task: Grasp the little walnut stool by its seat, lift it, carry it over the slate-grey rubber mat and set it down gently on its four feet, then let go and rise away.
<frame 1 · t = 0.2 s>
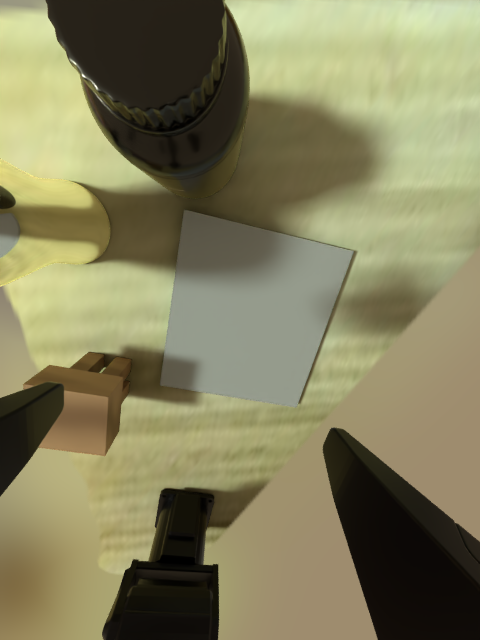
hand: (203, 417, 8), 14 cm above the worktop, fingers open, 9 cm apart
walnut stool: (109, 373, 23), on the worktop
rubber mat: (248, 321, 22), on the worktop
supplement bottle: (194, 149, 18), on the worktop
beer glass: (72, 224, 19), on the worktop
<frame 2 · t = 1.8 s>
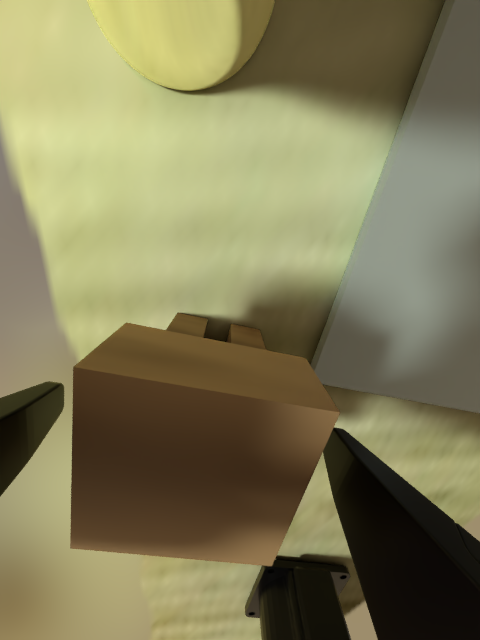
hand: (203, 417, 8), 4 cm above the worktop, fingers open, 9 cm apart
walnut stool: (211, 357, 12), on the worktop
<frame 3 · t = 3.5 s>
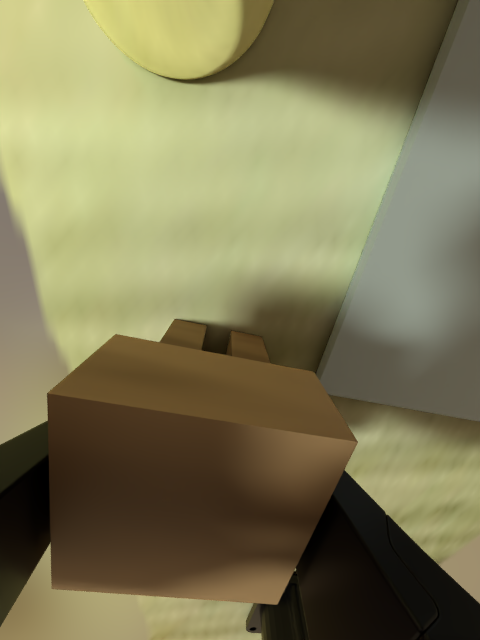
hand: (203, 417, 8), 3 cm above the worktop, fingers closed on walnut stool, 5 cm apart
walnut stool: (210, 366, 11), on the worktop, touching gripper
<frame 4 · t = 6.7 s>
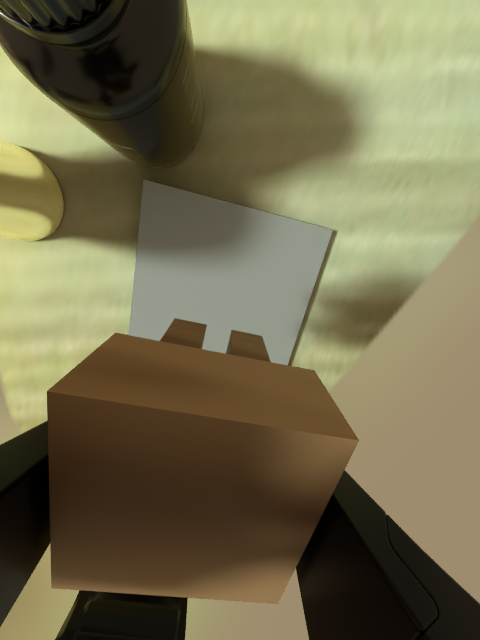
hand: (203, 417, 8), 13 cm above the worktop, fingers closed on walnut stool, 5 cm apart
walnut stool: (210, 365, 11), point 10 cm above the worktop, touching gripper
rubber mat: (220, 307, 20), on the worktop
supplement bottle: (154, 112, 16), on the worktop
beer glass: (21, 196, 17), on the worktop
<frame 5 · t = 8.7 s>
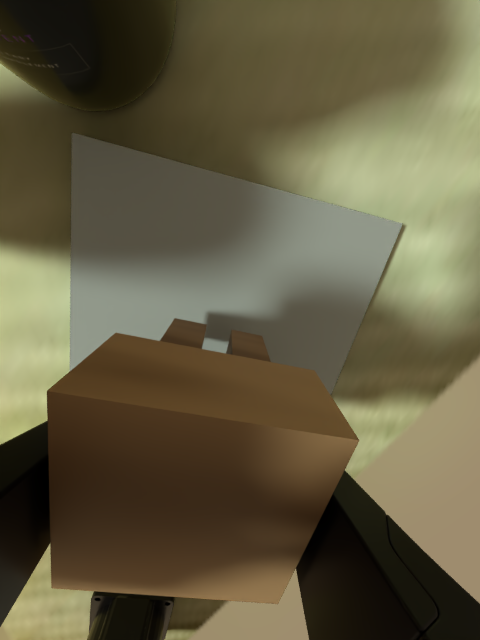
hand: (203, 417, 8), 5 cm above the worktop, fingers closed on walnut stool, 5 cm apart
walnut stool: (210, 365, 11), point 2 cm above the worktop, touching gripper
rubber mat: (213, 347, 13), on the worktop
supplement bottle: (86, 5, 9), on the worktop
when the fingers open (5 cm above the worktop, at t = 10.1 s): walnut stool stays where it is, resting on rubber mat.
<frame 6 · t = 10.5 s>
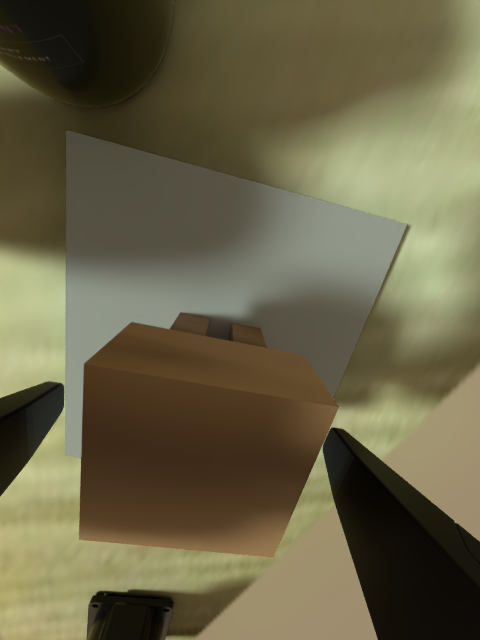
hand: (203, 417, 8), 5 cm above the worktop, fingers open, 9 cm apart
walnut stool: (213, 356, 12), point 1 cm above the worktop, touching rubber mat
rubber mat: (213, 350, 13), on the worktop
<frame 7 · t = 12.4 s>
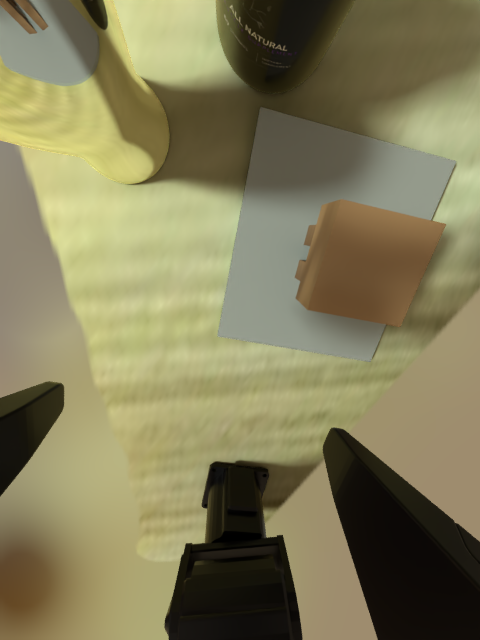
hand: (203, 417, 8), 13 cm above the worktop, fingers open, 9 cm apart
walnut stool: (325, 257, 19), point 1 cm above the worktop, touching rubber mat
rubber mat: (322, 256, 19), on the worktop
supplement bottle: (274, 30, 15), on the worktop
beer glass: (124, 133, 16), on the worktop
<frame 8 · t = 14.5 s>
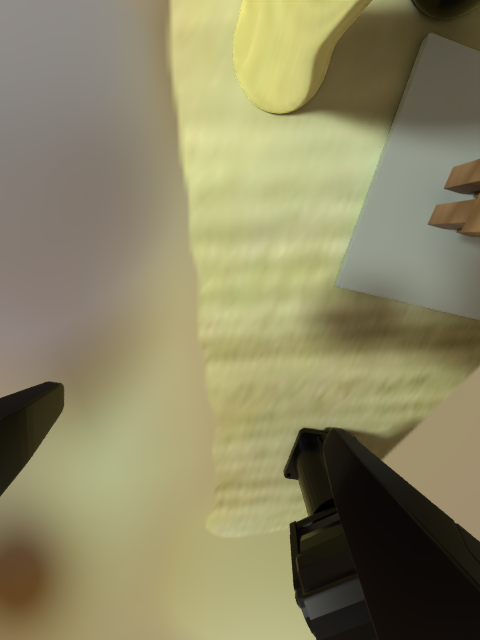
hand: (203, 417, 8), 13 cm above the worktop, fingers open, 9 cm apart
walnut stool: (462, 203, 18), point 1 cm above the worktop, touching rubber mat
rubber mat: (455, 204, 18), on the worktop
beer glass: (280, 57, 15), on the worktop
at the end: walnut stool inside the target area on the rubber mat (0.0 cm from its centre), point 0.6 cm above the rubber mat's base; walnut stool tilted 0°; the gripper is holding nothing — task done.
